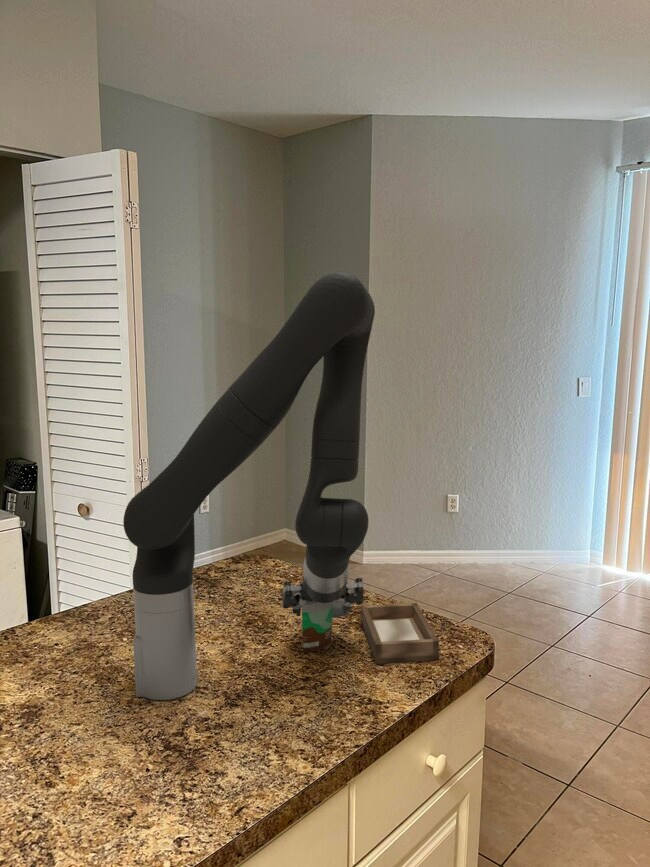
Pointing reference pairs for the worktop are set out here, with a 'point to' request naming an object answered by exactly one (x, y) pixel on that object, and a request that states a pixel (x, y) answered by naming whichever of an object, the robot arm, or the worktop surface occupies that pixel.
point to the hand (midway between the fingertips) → (321, 609)
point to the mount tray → (399, 633)
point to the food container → (316, 625)
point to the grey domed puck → (338, 611)
